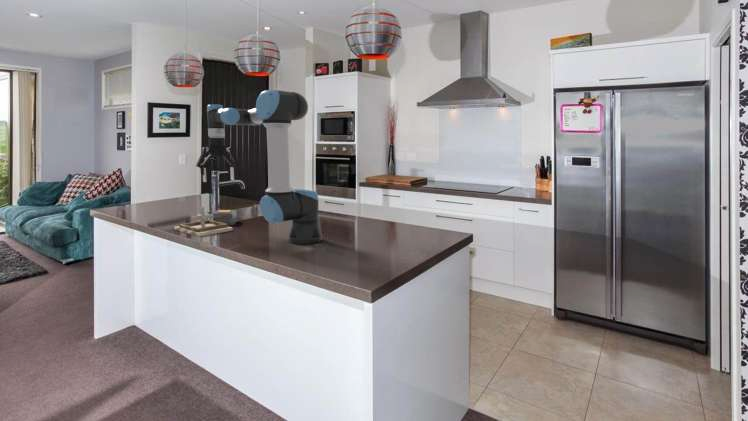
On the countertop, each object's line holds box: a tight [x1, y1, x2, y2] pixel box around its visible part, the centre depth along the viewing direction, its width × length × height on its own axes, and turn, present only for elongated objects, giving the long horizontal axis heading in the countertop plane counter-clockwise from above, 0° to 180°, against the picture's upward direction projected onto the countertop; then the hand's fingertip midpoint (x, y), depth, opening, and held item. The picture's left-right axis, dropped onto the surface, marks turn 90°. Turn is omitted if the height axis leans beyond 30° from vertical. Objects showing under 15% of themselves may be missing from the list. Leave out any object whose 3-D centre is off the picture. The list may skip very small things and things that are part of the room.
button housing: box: [212, 209, 239, 226], centre depth 236 cm, size 11×11×6 cm
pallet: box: [173, 219, 234, 238], centre depth 218 cm, size 22×18×3 cm
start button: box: [217, 209, 233, 213], centre depth 236 cm, size 6×6×3 cm
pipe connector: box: [191, 206, 214, 228], centre depth 217 cm, size 10×10×10 cm
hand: (218, 181), depth 219 cm, fingers open, 13 cm apart
